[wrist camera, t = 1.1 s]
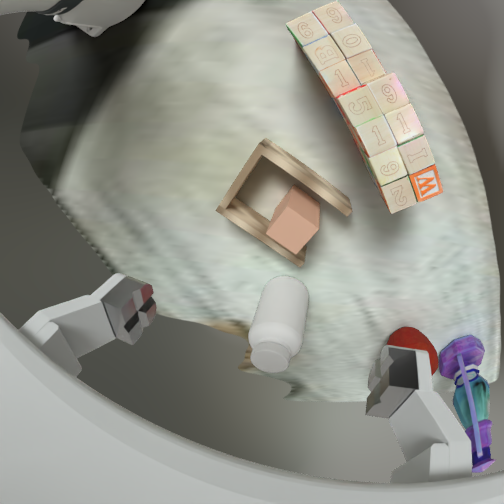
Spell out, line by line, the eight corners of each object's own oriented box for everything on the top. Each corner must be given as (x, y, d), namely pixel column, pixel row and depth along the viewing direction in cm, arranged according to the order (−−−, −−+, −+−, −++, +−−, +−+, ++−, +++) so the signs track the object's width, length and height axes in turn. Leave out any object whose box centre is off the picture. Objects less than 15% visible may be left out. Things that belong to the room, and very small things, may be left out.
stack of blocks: (292, 39, 27) (279, 14, 17) (334, 21, 24) (341, -12, 14) (371, 179, 35) (391, 216, 25) (410, 163, 32) (445, 194, 22)
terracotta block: (275, 208, 40) (265, 233, 34) (293, 184, 38) (287, 206, 31) (300, 225, 41) (295, 254, 34) (319, 203, 38) (318, 229, 32)
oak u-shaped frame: (225, 198, 41) (215, 210, 37) (265, 137, 35) (258, 143, 31) (302, 250, 43) (300, 267, 39) (349, 198, 37) (352, 211, 33)
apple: (366, 339, 50) (368, 391, 40) (401, 304, 44) (413, 358, 34) (403, 355, 50) (410, 403, 40) (438, 324, 44) (452, 374, 34)
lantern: (483, 351, 45) (510, 462, 20) (444, 372, 51) (458, 484, 26) (475, 322, 42) (511, 452, 17) (429, 348, 48) (447, 480, 23)
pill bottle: (256, 279, 48) (231, 347, 35) (301, 269, 45) (289, 341, 32) (272, 312, 51) (254, 380, 39) (314, 305, 48) (306, 376, 36)
